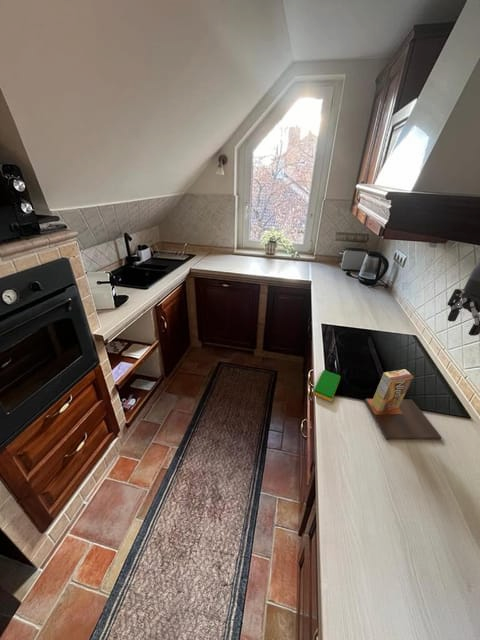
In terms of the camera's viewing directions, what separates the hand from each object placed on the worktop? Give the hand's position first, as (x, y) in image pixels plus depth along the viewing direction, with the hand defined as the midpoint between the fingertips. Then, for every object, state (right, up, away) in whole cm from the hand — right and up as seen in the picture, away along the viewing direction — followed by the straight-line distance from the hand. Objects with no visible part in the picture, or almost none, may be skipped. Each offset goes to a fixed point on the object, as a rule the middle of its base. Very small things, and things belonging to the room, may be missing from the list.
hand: (461, 327), depth 79 cm
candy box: (-17, -29, +12) cm, 36 cm away
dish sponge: (-35, -25, +22) cm, 48 cm away
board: (-14, -32, +9) cm, 36 cm away
